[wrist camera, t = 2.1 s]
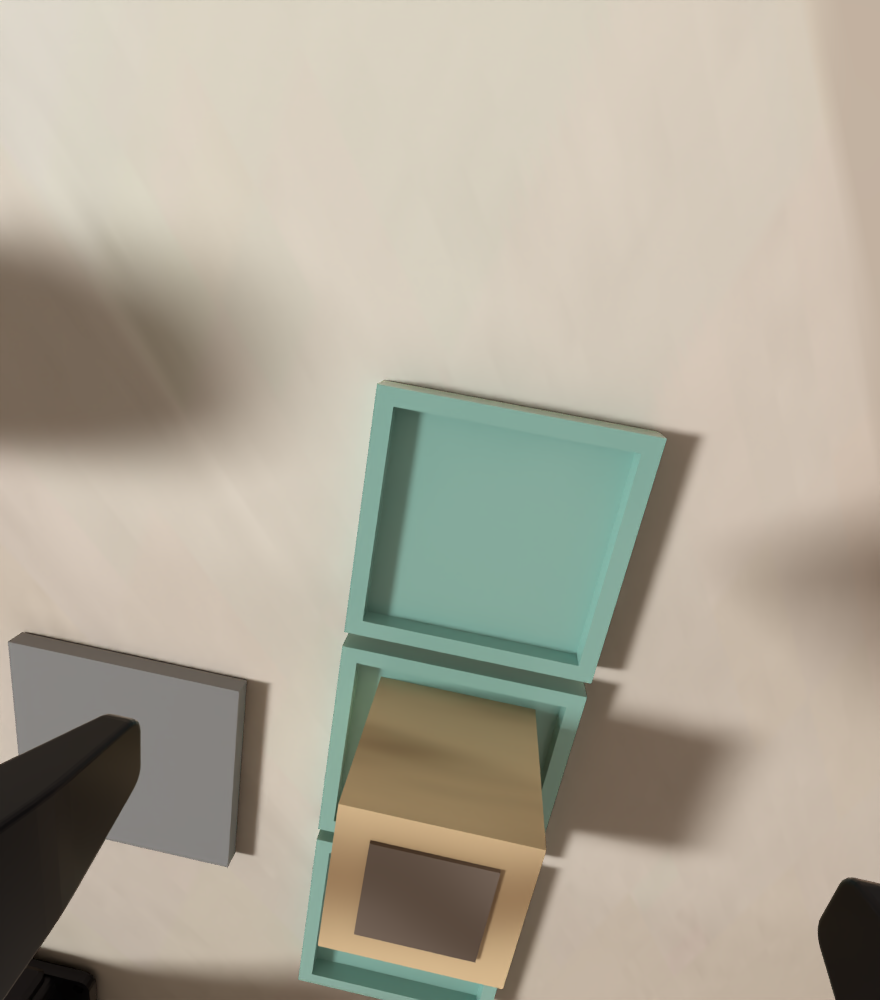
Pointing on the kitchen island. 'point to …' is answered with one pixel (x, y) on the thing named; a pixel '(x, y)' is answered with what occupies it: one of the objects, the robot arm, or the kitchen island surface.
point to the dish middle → (379, 658)
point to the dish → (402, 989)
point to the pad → (144, 737)
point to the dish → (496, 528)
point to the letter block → (437, 834)
